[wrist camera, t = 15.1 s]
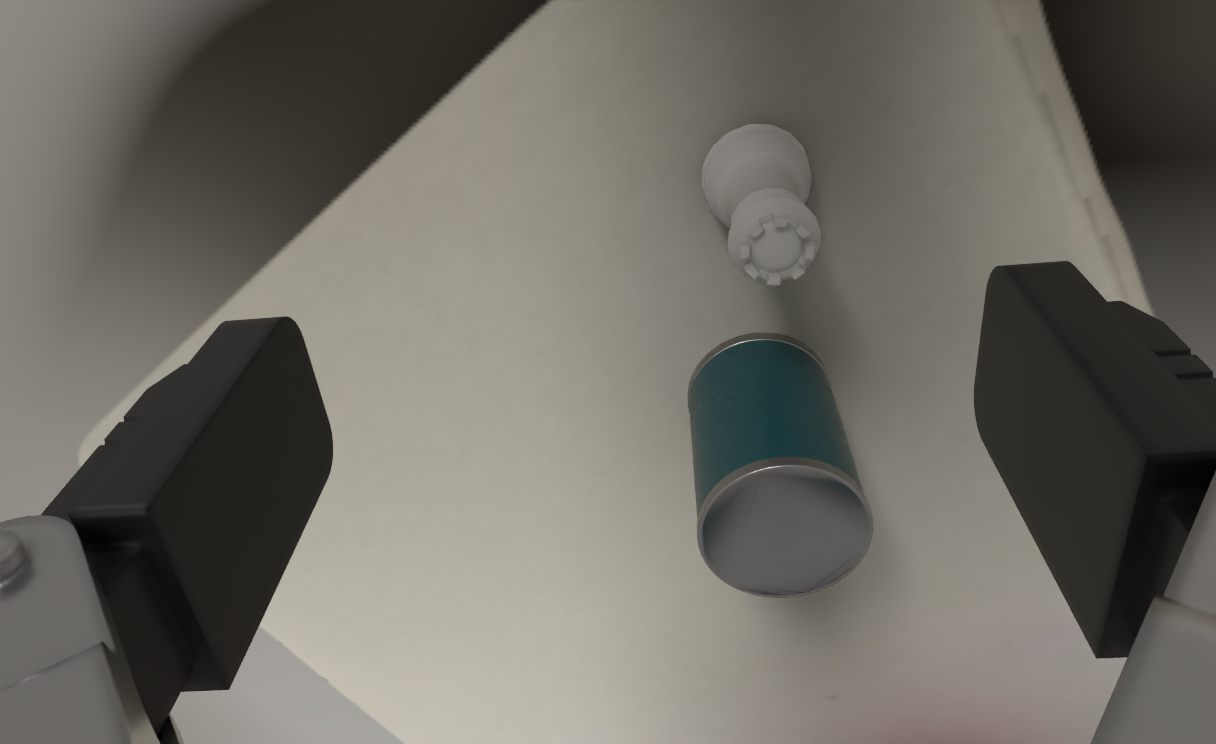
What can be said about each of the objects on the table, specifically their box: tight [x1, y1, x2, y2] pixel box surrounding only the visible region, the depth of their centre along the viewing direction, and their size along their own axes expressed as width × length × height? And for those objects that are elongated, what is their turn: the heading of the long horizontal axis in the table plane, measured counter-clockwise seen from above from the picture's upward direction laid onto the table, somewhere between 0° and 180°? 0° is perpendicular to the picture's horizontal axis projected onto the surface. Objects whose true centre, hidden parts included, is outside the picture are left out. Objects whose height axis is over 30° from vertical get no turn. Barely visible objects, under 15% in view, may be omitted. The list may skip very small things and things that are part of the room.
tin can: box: [688, 333, 873, 598], centre depth 40 cm, size 7×7×10 cm
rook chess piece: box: [701, 124, 821, 285], centre depth 35 cm, size 4×4×8 cm
